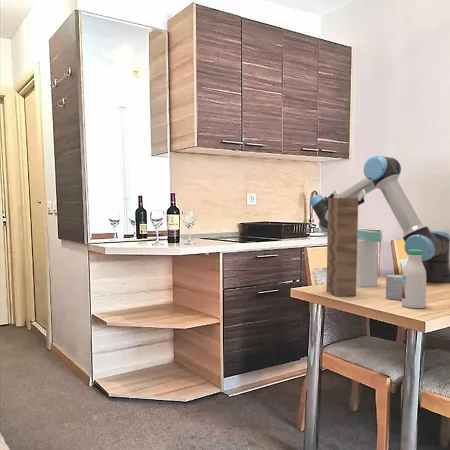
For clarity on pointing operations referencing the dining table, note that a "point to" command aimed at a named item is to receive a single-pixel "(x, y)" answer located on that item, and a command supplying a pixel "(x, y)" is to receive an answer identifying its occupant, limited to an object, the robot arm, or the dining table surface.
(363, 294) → the dining table surface
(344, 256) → the walnut stand
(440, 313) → the dining table surface
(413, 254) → the milk bottle
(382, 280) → the dining table surface
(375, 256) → the grey block
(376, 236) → the teal bar
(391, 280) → the medicine box
